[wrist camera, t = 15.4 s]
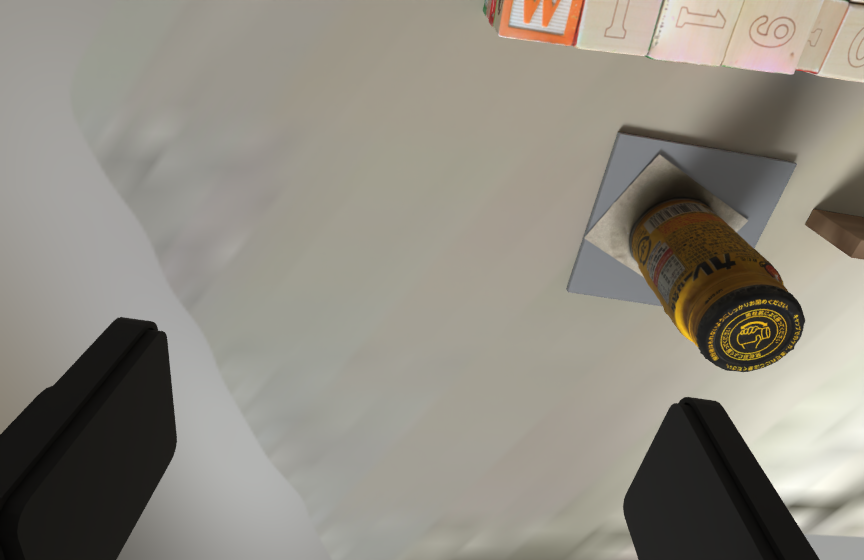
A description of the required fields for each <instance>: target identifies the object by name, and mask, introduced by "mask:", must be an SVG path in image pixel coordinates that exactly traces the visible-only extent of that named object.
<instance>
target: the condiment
mask: <svg viewBox="0 0 864 560" xmlns="http://www.w3.org/2000/svg"><path fill="white" fill-rule="evenodd" d="M747 222H748V220H747V219H746V218H744V217H743V216H742V215H740V214H739V213H738V212H736V211H735V210H733V209H732V208H731V207H729V206H728V205H727V204H725V203H724V202H723V201H721V200H720V199H719V198H717V197H716V196H715V195H713V194H712V193H711V192H709V191H708V190H707V189H705V188H704V187H703V186H701V185H700V184H699V183H697V182H696V181H694V180H693V179H692V178H691V177H689V176H688V175H687V174H685V173H684V172H683V171H681V170H680V169H678V168H677V167H676V166H674V165H673V164H672V163H670V162H669V161H668V160H666V159H665V158H664V157H662V156H661V155H660V154H659V155H658V156H657V157H656V158H655V160H654V161H653V162H652V163H651V164H650V165H649V166H647V167H646V169H645V170H644V171H643V172H642V173H641V174H640V175H639V176H638V177H637V179H636V180H635V181H634V182H633V183H632V184H631V185H630V186H629V187H628V188H627V189H626V191H625V192H624V193H623V194H622V195H621V196H620V197H619V199H618V200H617V201H616V202H615V203H613V204H612V206H611V207H610V209H609V210H608V211H607V212H606V214H605V215H604V216H603V217H602V218H601V219H600V220H599V221H598V222H597V223H596V225H595V226H594V227H593V228H592V229H591V231H590V232H589V233H588V234H587V235H586V236H585V237H584V238H585V239H586V240H588V241H589V242H591V243H592V244H593V245H595V246H597V247H598V248H600V249H601V250H603V251H604V252H605V253H607V254H609V255H611V256H612V257H613V258H615V259H616V260H618V261H620V262H621V263H622V264H624V265H626V266H627V267H629V268H630V269H632V270H634V271H635V272H637V273H638V274H640V275H641V276H643V277H644V278H645V280H646V282H647V284H648V286H649V287H650V288H651V289H652V291H653V292H654V293H655V295H656V297H657V298H658V299H659V300H660V303H661V305H663V307H664V311H665V312H666V314H667V315H669V317H670V318H671V320H672V322H673V323H674V325H675V326H676V327H677V328H678V330H679V331H680V333H681V334H682V335H684V336H685V337H686V338H687V339H689V340H690V341H692V342H694V343H695V344H696V346H697V347H698V348H699V350H700V351H701V352H700V353H701V354H703V355H704V357H705V359H708V360H709V361H710V362H712V363H713V364H715V365H716V366H718V367H720V368H722V369H725V370H728V371H740V372H749V371H753V370H757V369H760V368H764V367H766V366H768V365H771V364H773V363H775V362H777V361H778V360H780V359H781V358H782V357H783V356H785V355H786V354H787V353H788V352H789V351H791V350H793V349H794V346H795V344H796V343H797V342H798V340H799V339H800V337H801V335H802V331H803V326H804V323H805V318H804V315H803V311H802V308H801V306H800V304H799V302H798V301H797V300H796V299H795V298H794V296H793V295H792V294H791V293H789V292H788V291H787V289H786V288H785V287H784V285H783V281H782V279H781V277H780V275H779V273H778V271H777V270H776V269H775V268H774V267H773V266H772V265H771V264H770V263H769V261H767V260H766V259H765V258H764V257H763V256H762V255H760V254H759V253H758V252H757V251H756V250H755V249H754V248H753V247H752V246H751V245H750V244H748V243H747V242H746V241H745V240H744V239H743V238H742V237H741V236H740V235H739V234H738V233H737V231H739V230H740V229H741V228H742V227H743V226H744V225H745V224H746V223H747ZM626 228H627V229H626ZM627 233H628V234H627Z"/></svg>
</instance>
